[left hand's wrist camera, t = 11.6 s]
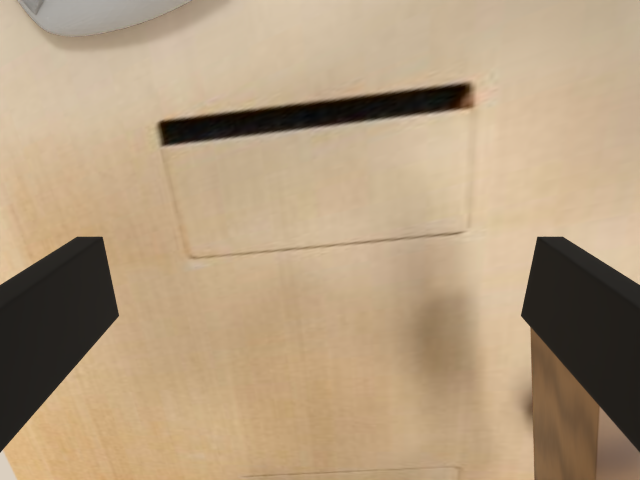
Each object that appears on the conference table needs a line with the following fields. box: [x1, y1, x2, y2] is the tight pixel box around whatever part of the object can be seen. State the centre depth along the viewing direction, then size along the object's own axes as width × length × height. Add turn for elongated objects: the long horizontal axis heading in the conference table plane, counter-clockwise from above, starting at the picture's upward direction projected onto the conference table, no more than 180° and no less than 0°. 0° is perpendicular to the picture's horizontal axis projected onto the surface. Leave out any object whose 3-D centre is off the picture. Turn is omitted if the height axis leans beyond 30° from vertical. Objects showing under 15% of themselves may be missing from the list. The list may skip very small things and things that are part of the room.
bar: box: [531, 328, 640, 480], centre depth 32 cm, size 23×5×8 cm, turn 12°
